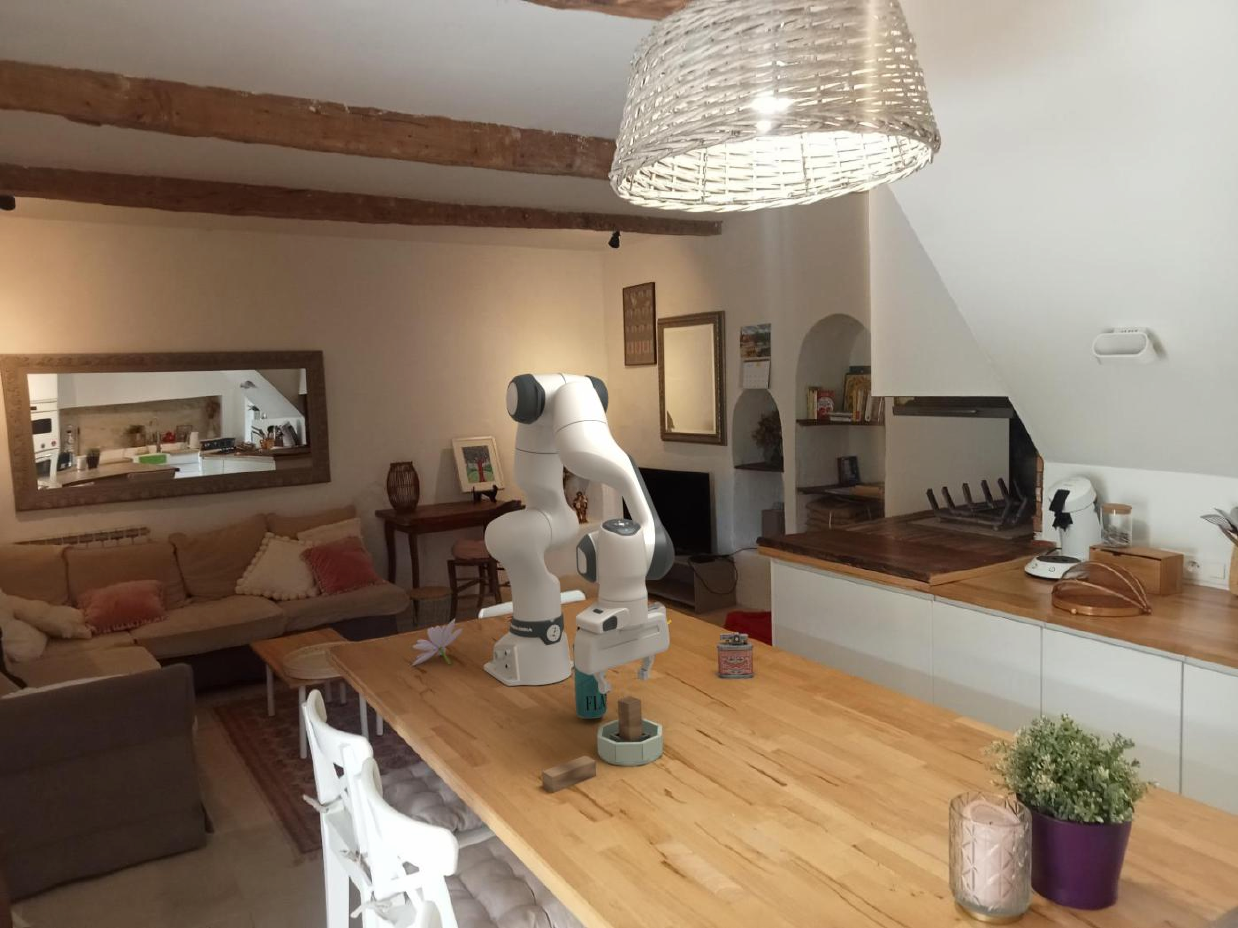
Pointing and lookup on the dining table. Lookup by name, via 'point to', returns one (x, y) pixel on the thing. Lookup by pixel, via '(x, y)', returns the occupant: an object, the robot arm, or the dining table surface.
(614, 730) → the faceted green bowl
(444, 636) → the water lily
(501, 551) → the robot arm
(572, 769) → the small wooden block
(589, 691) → the beverage bottle
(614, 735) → the wick clip
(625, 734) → the wooden post
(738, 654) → the lighter
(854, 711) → the dining table surface
